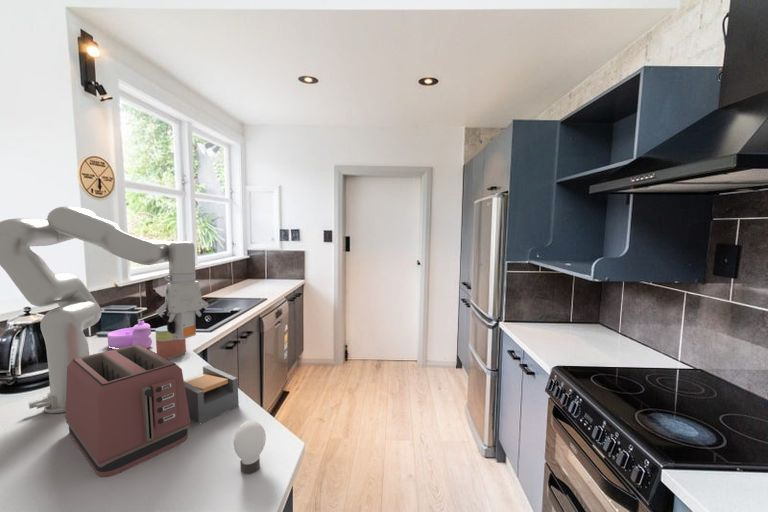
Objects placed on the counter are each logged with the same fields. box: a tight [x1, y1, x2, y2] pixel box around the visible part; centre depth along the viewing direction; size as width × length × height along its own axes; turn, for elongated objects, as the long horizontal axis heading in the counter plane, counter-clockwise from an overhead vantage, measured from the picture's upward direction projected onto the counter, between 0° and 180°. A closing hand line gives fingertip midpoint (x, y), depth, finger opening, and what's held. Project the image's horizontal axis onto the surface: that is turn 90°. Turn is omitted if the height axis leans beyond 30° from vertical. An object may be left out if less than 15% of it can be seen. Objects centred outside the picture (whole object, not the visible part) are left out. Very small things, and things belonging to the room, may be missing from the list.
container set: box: [106, 320, 153, 349], centre depth 161 cm, size 25×15×13 cm, turn 61°
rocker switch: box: [184, 373, 228, 393], centre depth 103 cm, size 8×15×3 cm, turn 55°
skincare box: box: [172, 311, 197, 340], centre depth 113 cm, size 6×4×12 cm
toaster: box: [64, 344, 191, 478], centre depth 88 cm, size 19×34×20 cm, turn 54°
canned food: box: [155, 324, 187, 359], centre depth 149 cm, size 11×11×12 cm
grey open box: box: [184, 364, 239, 425], centre depth 103 cm, size 12×18×9 cm, turn 55°
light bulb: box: [233, 419, 266, 474], centre depth 76 cm, size 7×7×11 cm
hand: (184, 329), depth 113 cm, fingers closed on skincare box, 7 cm apart
